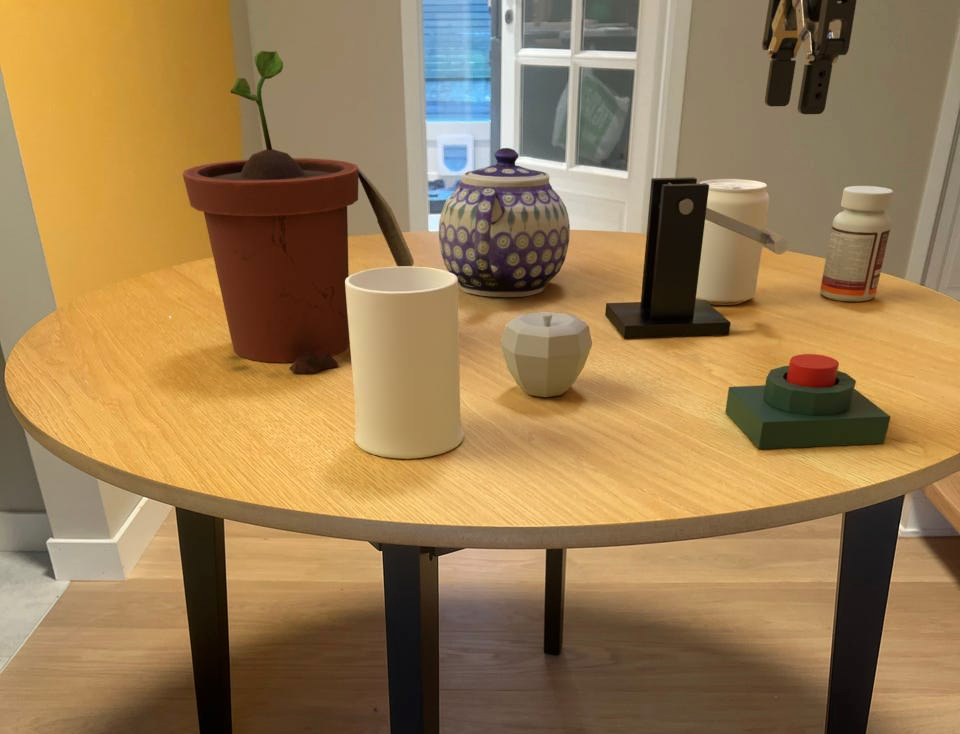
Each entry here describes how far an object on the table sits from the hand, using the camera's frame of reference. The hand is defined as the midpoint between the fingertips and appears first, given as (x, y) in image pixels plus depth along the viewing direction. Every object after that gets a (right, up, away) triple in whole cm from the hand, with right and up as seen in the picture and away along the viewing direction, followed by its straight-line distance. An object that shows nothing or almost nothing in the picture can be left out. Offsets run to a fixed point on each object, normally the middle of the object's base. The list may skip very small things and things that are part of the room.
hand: (792, 109), depth 86 cm
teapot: (-26, -6, +27) cm, 38 cm away
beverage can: (-1, -9, +23) cm, 25 cm away
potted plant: (-45, -19, +8) cm, 49 cm away
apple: (-23, -27, -3) cm, 35 cm away
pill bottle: (+14, -9, +23) cm, 28 cm away
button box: (-3, -32, -11) cm, 34 cm away
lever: (-5, -7, +9) cm, 12 cm away
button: (-3, -29, -13) cm, 31 cm away
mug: (-34, -32, -11) cm, 48 cm away
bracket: (-9, -15, +14) cm, 22 cm away
